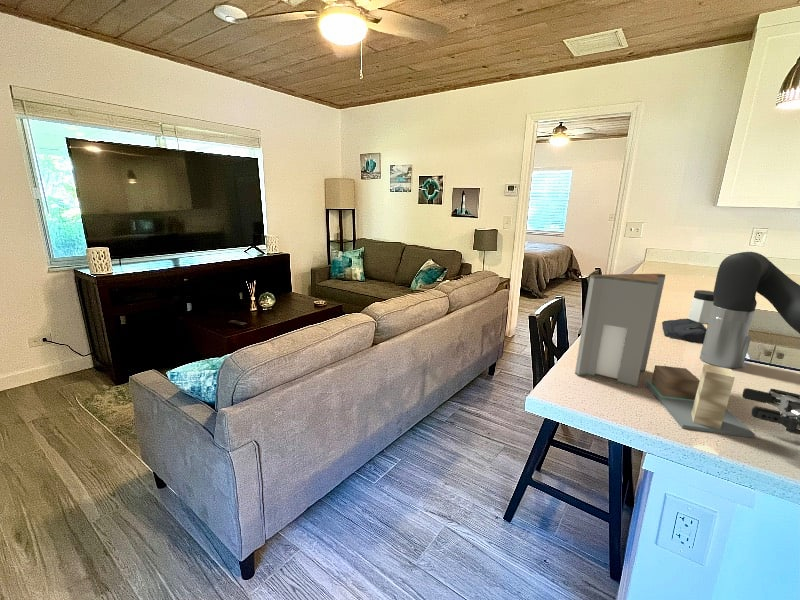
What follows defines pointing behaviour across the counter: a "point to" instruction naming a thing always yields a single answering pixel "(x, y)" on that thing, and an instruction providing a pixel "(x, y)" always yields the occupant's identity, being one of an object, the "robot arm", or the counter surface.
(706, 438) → the counter surface
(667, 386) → the base block
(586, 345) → the cabinet
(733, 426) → the mat
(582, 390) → the counter surface
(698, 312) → the jar
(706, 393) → the pillar
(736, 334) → the robot arm
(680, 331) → the dark slate chunk
